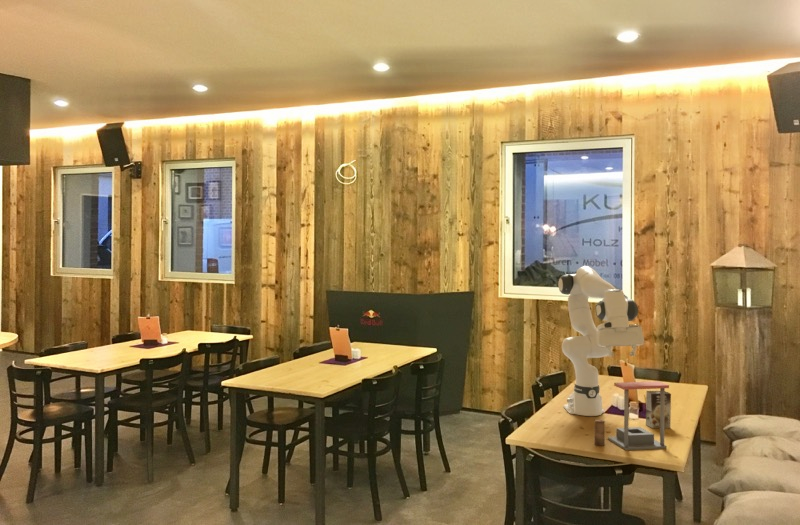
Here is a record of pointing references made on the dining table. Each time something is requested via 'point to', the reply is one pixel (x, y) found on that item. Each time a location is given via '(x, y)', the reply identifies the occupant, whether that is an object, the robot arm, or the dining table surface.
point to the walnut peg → (599, 432)
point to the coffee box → (657, 409)
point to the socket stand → (636, 435)
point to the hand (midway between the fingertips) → (622, 356)
